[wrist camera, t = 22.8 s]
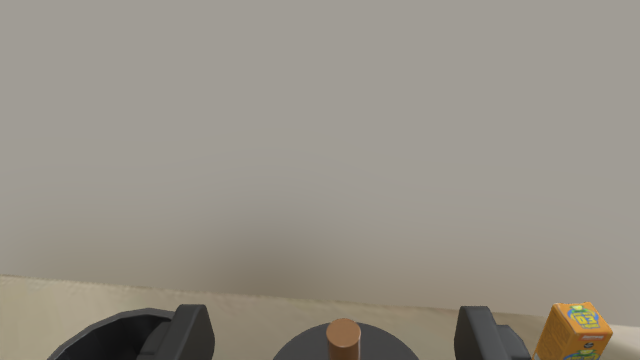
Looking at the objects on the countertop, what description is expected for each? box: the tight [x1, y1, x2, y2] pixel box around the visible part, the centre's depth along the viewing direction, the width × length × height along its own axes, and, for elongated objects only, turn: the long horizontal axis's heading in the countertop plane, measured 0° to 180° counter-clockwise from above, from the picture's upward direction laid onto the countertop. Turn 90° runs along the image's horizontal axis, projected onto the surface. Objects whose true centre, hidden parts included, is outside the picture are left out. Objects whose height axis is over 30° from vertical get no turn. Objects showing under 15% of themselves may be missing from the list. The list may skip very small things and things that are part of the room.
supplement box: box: [531, 302, 613, 360], centre depth 34 cm, size 3×3×10 cm
